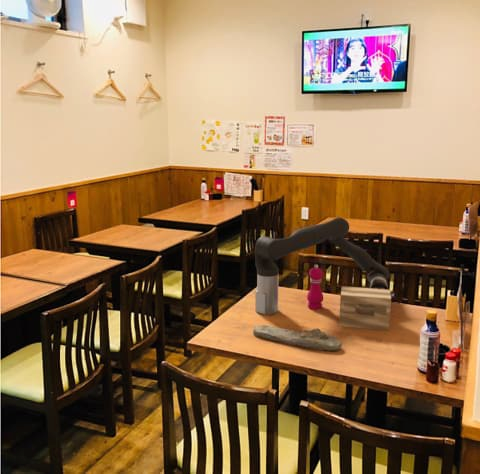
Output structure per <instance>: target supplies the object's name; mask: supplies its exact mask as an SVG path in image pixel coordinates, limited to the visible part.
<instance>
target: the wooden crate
mask: <svg viewBox="0 0 480 474" xmlns="http://www.w3.org/2000/svg"><path fill="white" fill-rule="evenodd" d="M390 292H391V289H388V290H387V289H374V288H370V287H358V286H357V287H356V286H345V285H343V286H342V285H341V289H340V302H339V323H338V324H339V325H338V326H339V327H345V328H355V329H356V328H357V329H367V330H377V331H378V330H379V331H389V330H390V323H391V322H390V321H391V308H392V298H391V293H390Z"/></svg>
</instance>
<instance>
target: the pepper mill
mask: <svg viewBox="0 0 480 474" xmlns="http://www.w3.org/2000/svg"><path fill="white" fill-rule="evenodd" d="M308 273H309V274H308V275H309V277H310V278H309V279H310V280H309V281H310V287H309V288H310V289H309V291H308V293H307V296H306V299H307V301H308V303H307V307H308V309H310V310H321V309H322V308H323V303H322V302H323V301H324V293H323V291H322V288H321V283H322V277H323V276H324V272H323V270H322V269H321V268H320V267H319V265H318V264H314V267H312V268H310V270H309V272H308Z"/></svg>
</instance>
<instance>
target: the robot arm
mask: <svg viewBox="0 0 480 474" xmlns="http://www.w3.org/2000/svg"><path fill="white" fill-rule="evenodd" d="M349 231H350V224H349V222H348V220H347V219H345V218H343V217H335V218H333V219H332V220H329V221H327V222H324V223H319V224H314V225H310V226H305V227H302V228H298V229H296V230H294V231H293V232H292V233H291V235H290V236H287V237H283V238H273V237H269V236H265V235H262V236H260V237H259V238H258V239H257V240H256V243H255V245H254V259H255V260H254V261H255V267H256V270H257V271H256V273H257V276H256V277H257V278H256V279H257V281H256V283H257V284H256V286H257V287H256V290H255V293H254V294H255V299H254V300H255V303H254V304H255V312H256V313H259V314H261V315H264V316H266V315H274V314H277V313H278V312H279V270H280V269H279V266H277V264H276V263H275V262H274V261H277V260H279V259H281V258H283V257H285V256H287V255H290V254H291V253H295V252H298V251H302V250H305V249H306V250H307V249H309V248H312V247H315V246H317V245H319V244H321V243H323V242H325V241H326V240H329V241H330V242H331V243H332V244H334V245H335V246H337V247H338V248H339V249H340V250H342V251H343V252H344V253H345V254H347V255H348V256H349V257H350V258H351V259H352V260H353V261H354V262H355V263H356V264H357V265H358V267H360V269H361V270H362V271H369V270H371V269H373V270H371V271H370V272H369V273H368V274H367V276H366V280H367V281H368V282H369V284H370V286H369V288H374V289H387V290H389V289H388V287H389V286H388V282H387V279H389V277H390V271H389V269H388V268H387V267H385V266H384V265H382V264H381V263H379V262H377V261H376V260H374V259H373V257H372V256H370V254H369V253H368V252H367V251H366V250H365V249H363V248H362V247H360V246H359V245H356V244H355V243H352V242H350V241H349V240H347V239H346V238H344V236H346V235H347V234H348V233H349ZM390 293H391V299H392V298H395V291H393V290H390Z"/></svg>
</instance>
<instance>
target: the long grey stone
mask: <svg viewBox="0 0 480 474" xmlns="http://www.w3.org/2000/svg"><path fill="white" fill-rule="evenodd" d="M252 331H253V335H254V336H255V337H259V338H261V339H266V340H269V341H270V340H271V341H273V342H275V343H276V342H278V343H281V344H286V345H289V346H297V347H298V346H299V347H303V348H304V349H305V348H307V349H313V350H317V351H322V352H323V351H329V352H330V351H339V350H340V349H341V347H342V342H341V341H340V340H339V339H338V338H337V337H335V336H333V335H332V334H330V333H326V332H324V331H322V330H321V329H320V328H313V329H312V330H311V329H309V330H303V331H300V330H299V331H297V330H293V329H287V328H281V327H276V326H269V325H266V324H264V325H258V326H255V327H254V329H253V330H252Z"/></svg>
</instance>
